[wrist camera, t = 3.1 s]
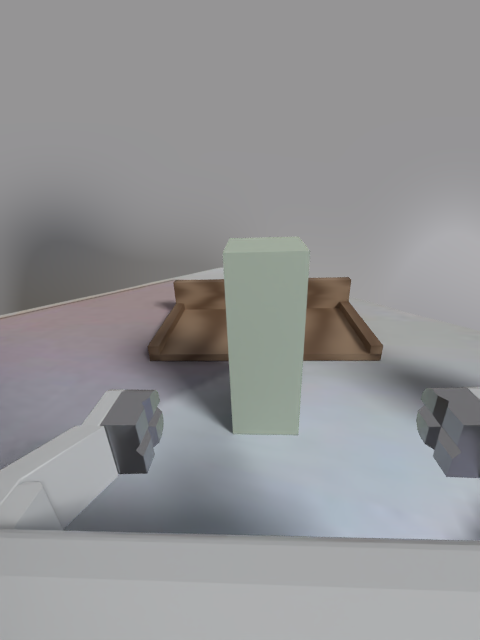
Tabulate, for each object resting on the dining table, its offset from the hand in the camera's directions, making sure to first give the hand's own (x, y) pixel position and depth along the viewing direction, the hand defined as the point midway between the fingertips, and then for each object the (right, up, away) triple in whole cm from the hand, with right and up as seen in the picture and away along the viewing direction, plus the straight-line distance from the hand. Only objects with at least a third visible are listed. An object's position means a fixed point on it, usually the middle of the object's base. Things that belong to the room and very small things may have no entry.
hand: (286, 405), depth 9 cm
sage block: (+1, -5, +16) cm, 17 cm away
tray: (+1, +1, +29) cm, 30 cm away
